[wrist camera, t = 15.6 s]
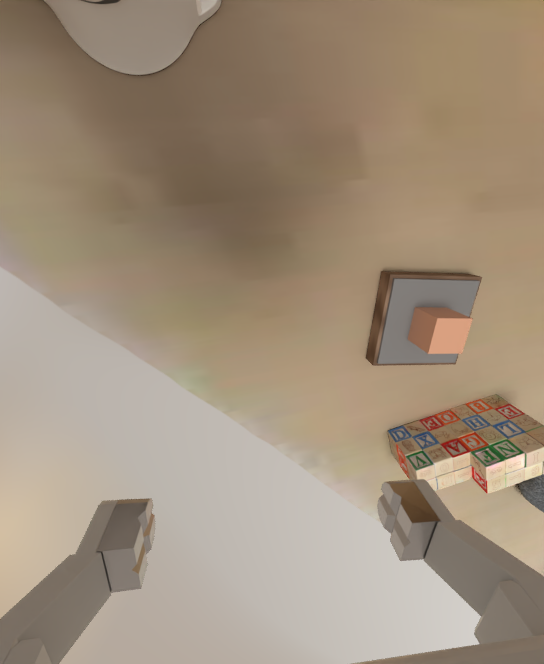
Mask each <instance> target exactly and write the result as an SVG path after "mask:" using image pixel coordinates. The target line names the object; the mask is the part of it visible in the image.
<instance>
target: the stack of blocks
mask: <svg viewBox="0 0 544 664" xmlns="http://www.w3.org/2000/svg"><path fill="white" fill-rule="evenodd" d="M388 435H389V441H390V447H391V452H392V454H393V456H394V458H395V459H396V460H397V462H398V463H399V465H400V466H401V468H402V469H403V471H404V472H405V474H406V475H407V477H408V478H409V479H410V480H418V479H424V480H426V481H427V482H428V483H429V485H430V486H431V487H432V489H433V490H434V491H436V490H440V489H443V488H446V487H449V486H451V485H454V484H458V483H460V482H463V481H466V480H468V479H470V478H472V477H473V479H474V480H475V481H476V482H477V483H478V484H479V486H480V487H481V488H482V489H483V490H484V491H485V492H486V493H487V494H489V493H492V492H495V491H498V490H500V489H503V488H505V487H509V486H512V485H514V484H517V483H520V482H523V481H525V480H528V479H531V478H534V477H537V476H540V475H542V474H544V426H543V425H542V424H541V423H539V422H538V421H536V420H534V419H533V418H531V417H530V416H528V415H526V414H525V413H523V412H522V411H520V410H519V409H517V408H515V407H514V406H512V405H511V404H509V403H508V402H507V401H505V400H504V399H502V398H501V397H499V396H497V395H492V396H489V397H486V398H483V399H479V400H476V401H473V402H470V403H467V404H464V405H461V406H458V407H455V408H452V409H450V410H447V411H445V412H442V413H439V414H436V415H434V416H431V417H428V418H425V419H422V420H419V421H415V422H412V423H409V424H406V425H403V426H400V427H397V428H394V429H392V430H389V431H388Z"/></svg>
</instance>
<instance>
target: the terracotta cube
mask: <svg viewBox="0 0 544 664" xmlns="http://www.w3.org/2000/svg"><path fill="white" fill-rule="evenodd" d="M472 320H473V318H470V317H468V316H466V315H463V314H461V313H458V312H456V311H454V310H451V309H449V308H438V307H415V309H414V313H413V318H412V322H411V326H410V331H409V335H408V340H409V341H410V342H412V343H413V344H415V345H416V346H418V347H419V348H420V349H422V350H423V351H425V352H426V353H428V354H458V353H462V352H463V349H464V345H465V342H466V339H467V336H468V332H469V329H470V326H471V323H472Z"/></svg>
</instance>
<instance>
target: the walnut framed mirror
mask: <svg viewBox="0 0 544 664" xmlns="http://www.w3.org/2000/svg"><path fill="white" fill-rule="evenodd" d="M481 279H482V277H480V276H476V275H471V274H456V273H422V272H387V271H382V272H381V277H380V283H379V288H378V294H377V300H376V305H375V311H374V316H373V322H372V327H371V333H370V338H369V344H368V349H367V355H366V359H367V360H368V361H369V362H370V363H371V364H372V365H438V364H456V361H457V358H458V354H459V353H458V354H428V353H426V352H425V351H423V350H422V349H420V348H419V347H418V346H416V345H415V344H413V343H412V342H410V341H409V340H408V335H409V331H410V326H411V322H412V318H413V313H414V309H415V307H438V308H449V309H451V310H454V311H456V312H458V313H461V314H463V315H466V316H468V317H470V315H471V312H472V309H473V305H474V302H475V299H476V295H477V292H478V289H479V286H480V282H481Z"/></svg>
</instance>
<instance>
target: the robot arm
mask: <svg viewBox="0 0 544 664" xmlns="http://www.w3.org/2000/svg"><path fill="white" fill-rule="evenodd" d="M43 1H45V2H46V3H47V4H48V5H49V6H50V7H51V9H52V10H53V11H54V13H55V14H56V16H57V17H58V19H59V20H60V22H61V23H62V25H63V26H64V28H65V29H66V31H67V32H68V33H69V35H70V36H71V37H72V39H73V40H74V41H75V42H76V43H77V44H78V45H79V46H80V47H81V48H82V49H83V50H84V51H85V52H86V53H87V54H88V55H89V56H91V57H92V58H93V59H95V60H96V61H98V62H99V63H101V64H103V65H104V66H106V67H108V68H110V69H113V70H115V71H118V72H121V73H126V74H132V75H144V74H150V73H154V72H157V71H160V70H162V69H164V68H166V67H167V66H169V65H170V64H172V63H173V62H174V61H175V60H176V59H177V58H178V57H179V56H180V55H181V54H182V53H183V51H184V50H185V48H186V47H187V45H188V43H189V41H190V39H191V37H192V36H193V34H194V32H195V30H196V29H197V27H198V26H199V25H200V24H201V23H202V22H204V21H205V20H207V19H208V18H209V17H211V16H212V15H213V14H214V13H215V12H216V11H217V10H218V9H219V7H220V5H221V0H43ZM381 490H382V492H383V495H382V496H381V497H380V498H379V500H378V514H379V517H380V520H381V522H382V525H383V527H384V528H385V529H386V530H387V531H389V532H390V533H391V538H390V541H391V543H392V545H393V547H394V549H395V551H396V553H397V555H398V557H399V560H400V561H406V560H420V559H424V561H425V562H426V563H427V564H428V565H429V566H430V567H431V568H432V569H433V570H434V571H435V572H436V573H437V574H438V575H439V576H440V577H441V578H442V579H443V580H444V581H445V582H446V583H447V584H448V585H449V586H450V587H451V588H452V589H454V590H455V591H456V592H457V593H458V594H459V595H460V596H461V597H462V598H463V599H464V600H465V601H466V602H467V603H468V604H469V605H470V606H471V607H472V608H473V609H474V610H475V611H476V612H477V613H478V614H479V615H480V616H481V618H480V621H479V622H478V624H477V626H476V628H475V633H474V634H475V636H476V638H477V640H478V641H479V643H480V644H479V645H472V646H465V647H459V648H452V649H445V650H439V651H432V652H425V653H419V654H412V655H406V656H399V657H392V658H386V659H379V660H372V661H366V662H360V663H353V664H544V577H543V576H542V575H541V574H540V573H538V572H537V571H535V570H534V569H532V568H531V567H529V566H528V565H526V564H525V563H523V562H522V561H520V560H519V559H517V558H516V557H514V556H513V555H511V554H510V553H508V552H507V551H505V550H504V549H502V548H501V547H499V546H498V545H496V544H495V543H493V542H492V541H490V540H489V539H487V538H486V537H484V536H483V535H481V534H480V533H478V532H477V531H475V530H474V529H473V528H471V527H470V526H468V525H467V524H465V523H464V522H462V521H461V520H455V518H454V517H453V516H452V514H451V513H450V512H449V510H448V509H447V508H446V506H445V505H444V503H443V502H442V501H441V499H440V498H439V497H438V495H437V494H436V493H435V491H434V490H433V489H432V487H431V486H430V485H429V483H428V482H427V481H426V480H424V479H418V480H401V481H389V482H384V483H383V484H382V488H381ZM152 508H153V502H152V499H127V500H111V501H110V500H109V501H102V502H101V504H100V505H99V506H98V508H97V510H96V512H95V514H94V516H93V518H92V520H91V522H90V524H89V527H88V529H87V531H86V533H85V535H84V537H83V539H82V541H81V544H80V545H79V548H78V550H77V552H76V554H74V555H70V556H68V557H67V558H66V559H65V560H64V561H63V562H62V563H61V564H60V565H58V566H57V567H56V568H55V569H54V570H53V571H52V572H51V573H50V574H49V575H48V576H46V577H45V578H44V579H43V580H42V581H41V582H40V583H39V584H38V585H37V586H36V587H34V588H33V589H32V590H31V591H30V592H29V593H28V594H27V595H26V596H25V597H24V598H22V599H21V600H20V601H19V602H18V603H17V604H16V605H15V606H14V607H13V608H12V609H10V610H9V612H7V613H6V614H5V615H4V616H3V617H2V618H1V619H0V664H59V663H60V661H61V660H62V659H63V658H64V656H65V655H66V654H67V652H68V651H69V650H70V648H71V647H72V646H73V644H74V643H75V642H76V640H77V639H78V638H79V636H80V635H81V634H82V632H83V631H84V630H85V628H86V627H87V626H88V625H89V623H90V622H91V621H92V619H93V618H94V616H95V615H96V614H97V613H98V611H99V610H100V609H101V607H102V606H103V605H104V603H105V602H106V601H107V599H108V598H109V597H110V595H111V593H113V592H120V591H126V590H134V589H141V587H142V584H143V580H144V576H145V572H146V568H147V558H146V554H147V553H148V552H149V551H150V550H151V548H152V543H153V540H154V532H155V516H154V515H153V514H152V513H151V512H152Z"/></svg>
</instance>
